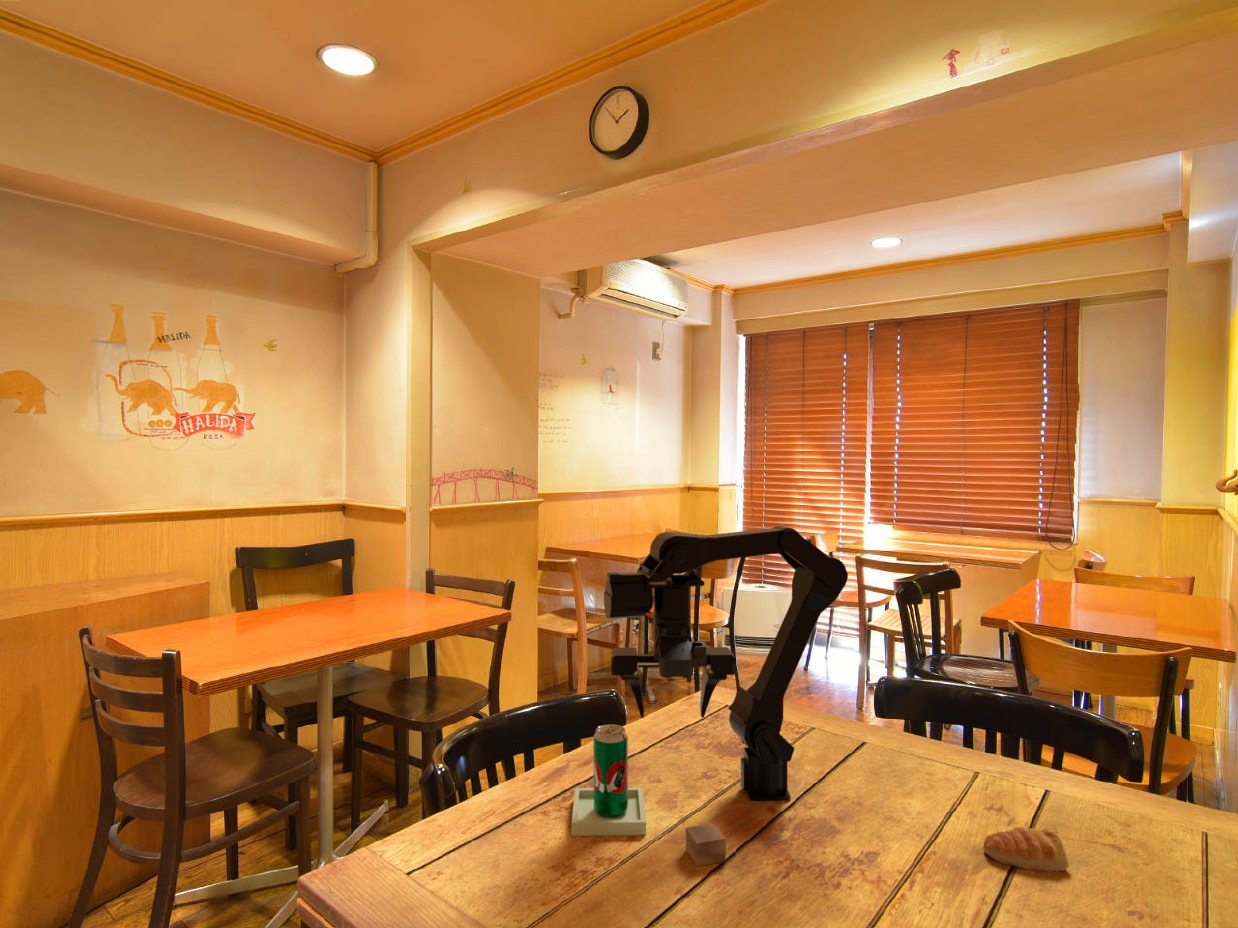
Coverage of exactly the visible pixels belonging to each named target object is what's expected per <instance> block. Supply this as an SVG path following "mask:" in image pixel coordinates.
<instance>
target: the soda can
mask: <svg viewBox="0 0 1238 928" xmlns="http://www.w3.org/2000/svg"><path fill="white" fill-rule="evenodd" d="M628 738H629V736H628V735H627V733H626V729H625V727H624V726H622V725H618V724H602V725H599V726H598V727H596V729H595V733H594V735H593V747H592V748H593V757H592V759H593V763H592V764H593V788H594V810H595V811H596V812H597V813H598V814H599V815H600V816H603V817H608V818H613V817H618V816H621V815H622V814H624V813H625V812H626V810H627V809H628V788H629V782H628V781H629V771H628V770H629V762H628V761H629V752H628V751H629V749H628V748H629V743H628V742H629V739H628Z"/></svg>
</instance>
